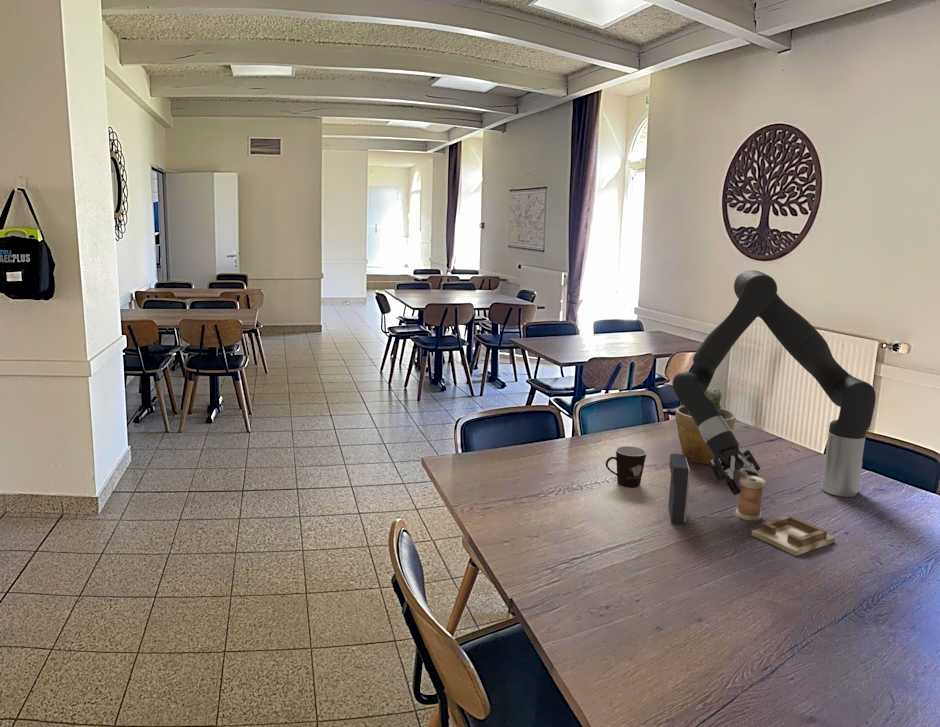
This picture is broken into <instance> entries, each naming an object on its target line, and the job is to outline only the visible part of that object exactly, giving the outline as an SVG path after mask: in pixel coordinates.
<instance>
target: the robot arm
mask: <svg viewBox="0 0 940 727" xmlns="http://www.w3.org/2000/svg"><path fill="white" fill-rule="evenodd" d="M733 290H734V294H735V295H736V298H737V299H738V300H737V302H736V304H735V306H734V308H733V309H732V311H731V312H730V313H729V314H728V315H727V316H726V318H724V319H723V321H722V322H720V323H719V325H717V327H715V328H714V329H713V330H712V331H711V332H710V333H709V334H708V335H707V337H706V338H704V340H703V342H702V343H701V344H700V346H699V348H698V349H697V351H696V352H695V353H694V355H693V357H692V361H693V363H694V364H693V366H692V367H691V370H690V371H681V372H678V373H676V375H675V376H674V377H673V379H672V389H673V392H674V394H675V395H676V397H677V399H679V401H680V402H681V404H682V405H684V406H685V408H686V409H687V410H688V411H689V412H690V414H691V416H692V418H693V419H694V421H695V423H696V425H697V427H698V429H699V431H700V434H701V436H702V438H703V440H704V441H705V443H706V445H707V447H708V449H709V450H710V452H711V454H712V456H713V457H715V458H713V459H712V460H711V461H709V464H708V465H710V467H711V469H712V472H713V474H714V475H715V478H716V480H717V481H718V482H724V483H725V484H726V485H727V487H728V488H729V490H730V493H732V495H733V496H737V495H739V494H740V493H741V490H740V486H739V485H738V484H739V483H738V482H737V481H736V479H735V478H734V472H740V473H743V474H745V475H750V476H756V477H759V475H758V472H760V470H761V466H760V464H759V463H758V462H757V460H756V459H755V457H754V456H753V454H752V452H751V451H750V450H749V449H747V450H745V451H744V452H741V451H740V450H739V446H740V443H739V442H738V440H737V438H736V436H735V434H734V432H732V431H733V430H731V429H730V428H729V426H728V424H727V423H726V421H725V420H724V419H723V417H722V416H721V414H720V412H719V410H718V409H717V407H716V405H715V404H714V403H713V402H712V401H711V400H710V399H708V398H707V397H706V395H705V394H704V392H705V391H706V390H708V388H709V386H710V383H711V382H712V379H713V377H714V375H715V372H716V370H717V368H718V367H719V366H720V365H721V363H722V362H723V360H724V359H725V357H726V356H727V354H729V352H730V350H731V349H732V348H733V346H734V345H735V343H736V342H737V341H738V339H739V338H740V337H741V336H742V335H743V334H744V332H745V331H746V330H747V329H748V328H749V327H750V325H752V324H753V322H754V321H755V320H756V319H757V317H759V318H760V319H761V320H762V321H763V322H764V324H765V325H766V326H767V328H768V329H769V330H770V333H771V334H772V335H773V336H774V337H775V338H776V339H777V341H778V342H779V343H780V344H781V345H782V346H783V348H784V350H786V351H787V353H788V354H789V355H790V356H792V358H793V359H794V360H795V361H796V362H798V364H799V365H801V367H802V368H803V369H804V370H805V371H807V372H808V374H810V375H811V376H812V377H813V378H814V379H815V380H816V381H817V382H818V384H819V386H820V387H821V389H822V390H823V391H824V393H825V394H826V396H827V397H828V398H829V400H830V401H831V402H832V403H833V405H835V406H837V407H839V413H838V414H839V415H838V418H837V419H833V420H832V421H830V423H829V425H828V426H829V427H828V433H827V434H828V435H827V439H826V440H827V441H826V450H825V456H824V462H823V468H822V469H823V471H822V476H821V477H822V478H821V484H820V489H821V490H822V491H824V493H827V494H830V495H834V496H837V497H842V498H843V497H845V498H851V497H856V496H857V494H858V492H859V489H860V488H859V487H860V481H861V474H862V469H863V468H862V467H863V455H864V448H865V442H866V436H867V432H868V431H869V429H870V427H871V424H872V420H873V416H874V415H873V414H874V411H875V405H876V399H877V397H876V390H875V388H874V387H873V385H872V384H870V383H868V382H866V381H864V380H862V379H859V378H857V377H855V376H852V374H850V373H849V372H848V371H846V370H845V369H844V368H843V367H842V366H841V365H840V363H838V362H837V361H836V359H835V358H834V357H833V355H832V351H831V348H830V346H829V344H828V342H827V341H826V340H825V338H824V337H823V335H821V334H820V332H819V331H818V329H816V328H815V327H814V325H812V323H810V322H809V321H808V320H807V319H806V318H805V317H804V316H802V315H801V314H800V313H799V312H797V311H796V310H795V309H793V308H792V306H791V307H790V306H789V305H788V303H786V302H785V301H783V299H782V298H781V297H780V296H779V294H778V285H777V283H776V280H775V279H774V278H773V277H772V276H770V275H769V274H766V273H765V272H762V271H759V270H753V269H751V270H749V269H748V270H745V271H742V272H740V273H739V274H738V275H737V276H736V278H735V280H734V283H733ZM753 466H754V467H753Z"/></svg>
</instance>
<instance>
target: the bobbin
mask: <svg viewBox="0 0 940 727" xmlns="http://www.w3.org/2000/svg"><path fill="white" fill-rule="evenodd" d="M738 484H739V485H740V486H739V488H740V490H741V493H739V494H738V495H739V496H738V504H737V507H736V509H735V515H737V516H736V517H737V518H739V519H741V518H742V519H741V520H745V521H749V520H751V521H750V522H756V521H755V520H758V521H760V520H762V511H761V508H762V506H761V505H762V500H763V499H762V498H763V490H764V489H765V486H766V480H765V479H764V478H762V477H759V476H758V477H756V476H750V475H746V474H745V475H741V476H740V477H739V480H738ZM759 519H760V520H759ZM752 520H753V521H752Z"/></svg>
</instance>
